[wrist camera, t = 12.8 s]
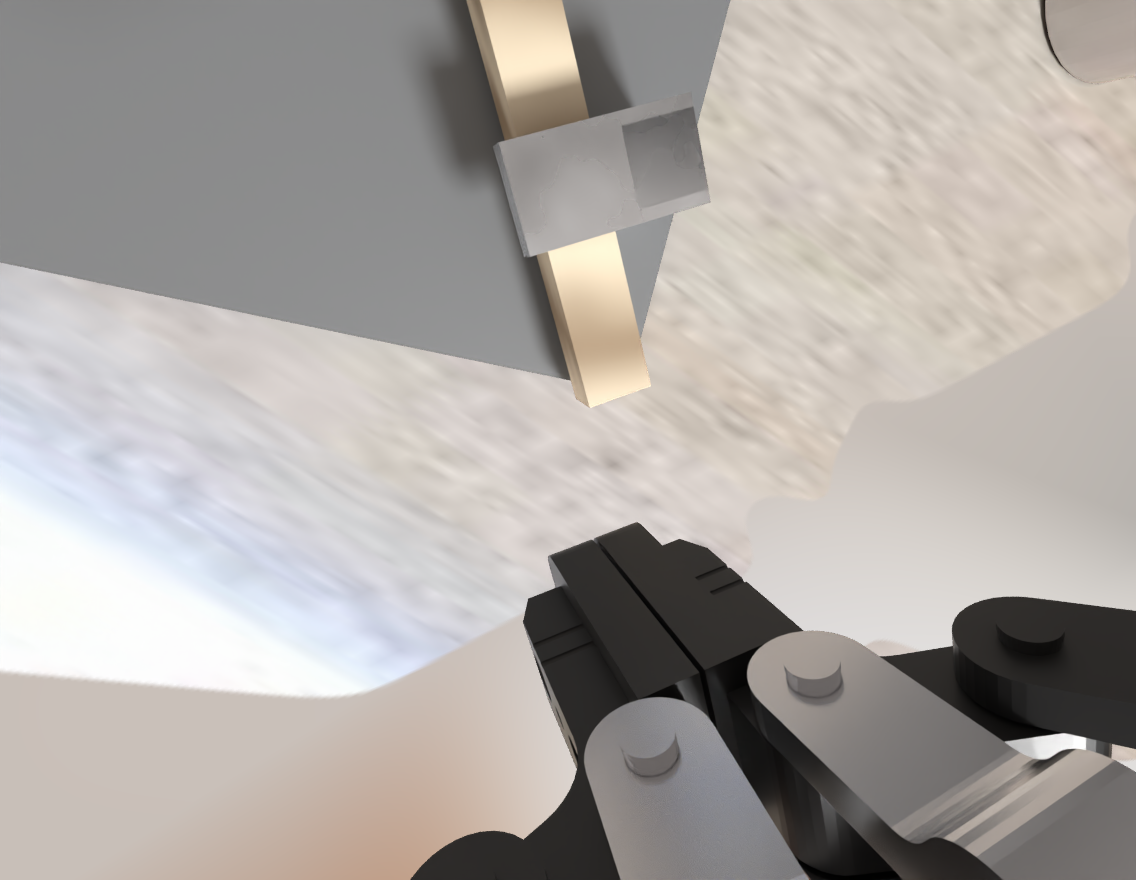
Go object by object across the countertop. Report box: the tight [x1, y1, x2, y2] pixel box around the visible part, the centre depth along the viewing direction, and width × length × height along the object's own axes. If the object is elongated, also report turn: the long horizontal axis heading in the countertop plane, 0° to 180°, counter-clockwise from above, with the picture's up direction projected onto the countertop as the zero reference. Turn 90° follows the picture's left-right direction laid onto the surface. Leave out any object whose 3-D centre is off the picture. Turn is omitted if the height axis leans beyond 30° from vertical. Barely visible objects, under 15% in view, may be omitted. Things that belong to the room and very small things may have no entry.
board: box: [0, 0, 730, 380], centre depth 24 cm, size 27×21×6 cm
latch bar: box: [466, 0, 651, 408], centre depth 26 cm, size 21×4×3 cm, turn 16°
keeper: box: [493, 92, 710, 257], centre depth 27 cm, size 4×8×5 cm, turn 106°
